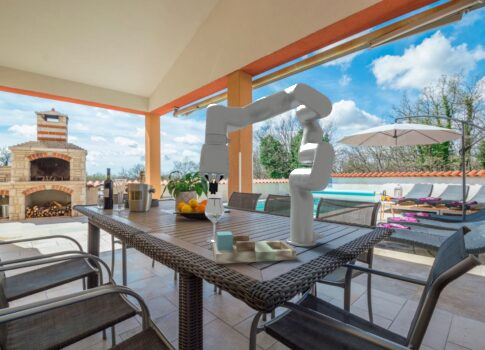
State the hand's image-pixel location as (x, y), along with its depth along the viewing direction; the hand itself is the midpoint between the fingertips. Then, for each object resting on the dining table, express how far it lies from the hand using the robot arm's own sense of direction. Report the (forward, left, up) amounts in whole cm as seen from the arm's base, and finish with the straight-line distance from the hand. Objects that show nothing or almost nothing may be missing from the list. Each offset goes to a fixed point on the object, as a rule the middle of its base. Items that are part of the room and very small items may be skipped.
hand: (213, 194), depth 85 cm
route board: (-14, +1, -21) cm, 26 cm away
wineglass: (-3, -19, -22) cm, 29 cm away
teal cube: (-4, +1, -18) cm, 19 cm away
